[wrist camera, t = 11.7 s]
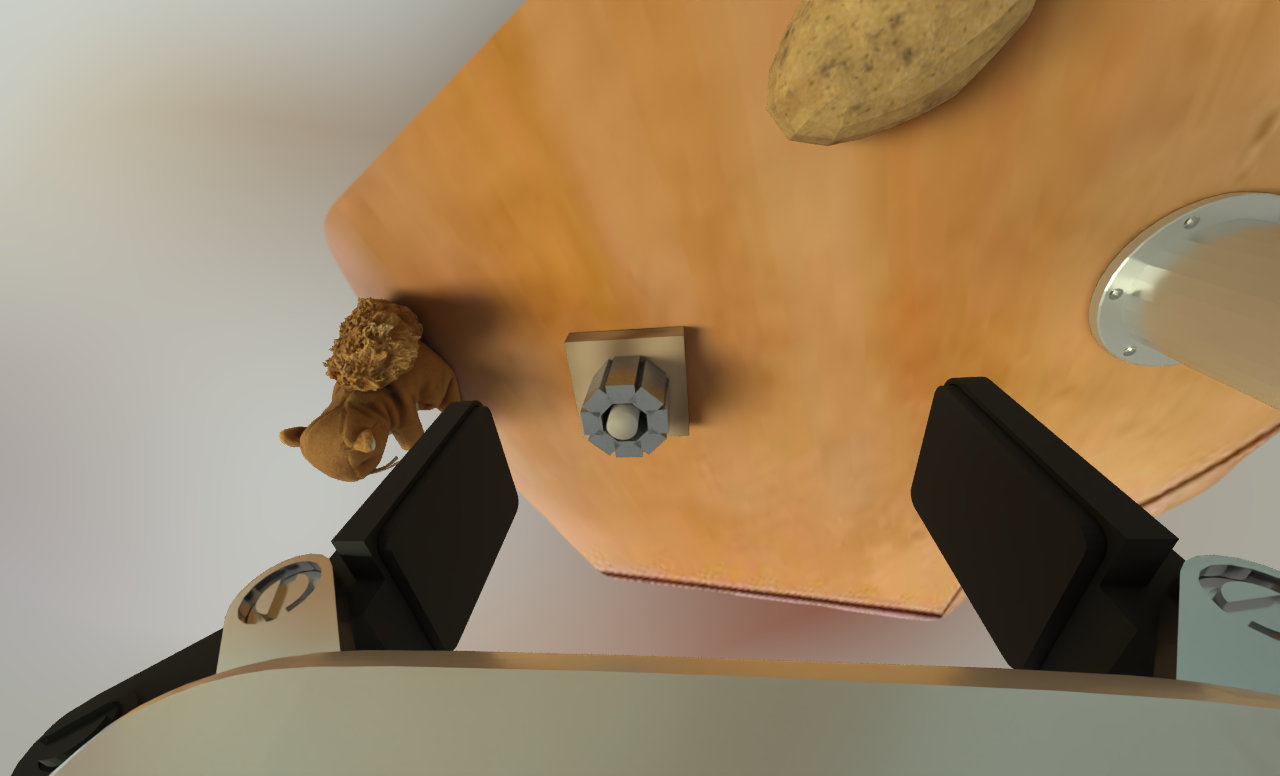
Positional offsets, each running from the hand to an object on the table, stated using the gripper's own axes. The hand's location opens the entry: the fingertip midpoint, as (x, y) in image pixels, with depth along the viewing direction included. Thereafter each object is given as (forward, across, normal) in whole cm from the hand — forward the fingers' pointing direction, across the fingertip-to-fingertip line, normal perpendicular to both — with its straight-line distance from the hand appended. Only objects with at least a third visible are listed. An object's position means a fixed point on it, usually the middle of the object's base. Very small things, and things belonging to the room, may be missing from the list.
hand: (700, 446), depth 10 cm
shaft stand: (+28, +6, +14) cm, 32 cm away
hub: (+26, +6, +14) cm, 30 cm away
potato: (+28, -11, -9) cm, 32 cm away
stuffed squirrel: (+28, +27, +10) cm, 40 cm away
